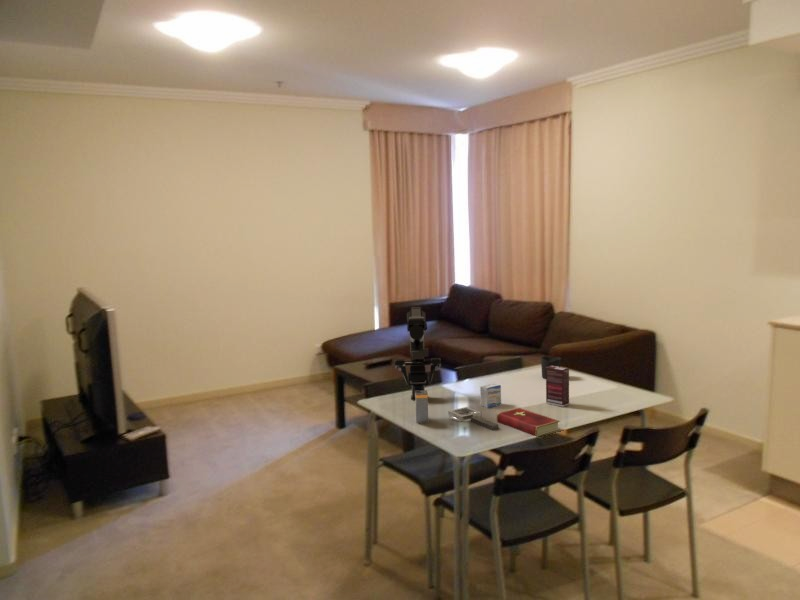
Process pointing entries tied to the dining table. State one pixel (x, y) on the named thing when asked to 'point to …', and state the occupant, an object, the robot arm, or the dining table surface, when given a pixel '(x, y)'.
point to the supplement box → (557, 386)
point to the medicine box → (490, 395)
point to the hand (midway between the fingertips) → (418, 384)
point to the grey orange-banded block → (421, 406)
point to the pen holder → (549, 363)
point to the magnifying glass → (471, 417)
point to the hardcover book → (527, 421)
